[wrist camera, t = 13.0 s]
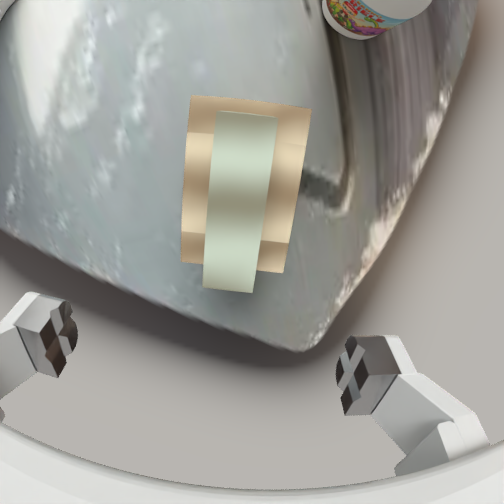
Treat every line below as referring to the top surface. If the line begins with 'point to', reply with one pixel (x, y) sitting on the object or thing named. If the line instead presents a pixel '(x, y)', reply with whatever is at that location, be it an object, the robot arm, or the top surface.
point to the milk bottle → (369, 15)
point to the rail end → (237, 198)
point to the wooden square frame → (280, 184)
